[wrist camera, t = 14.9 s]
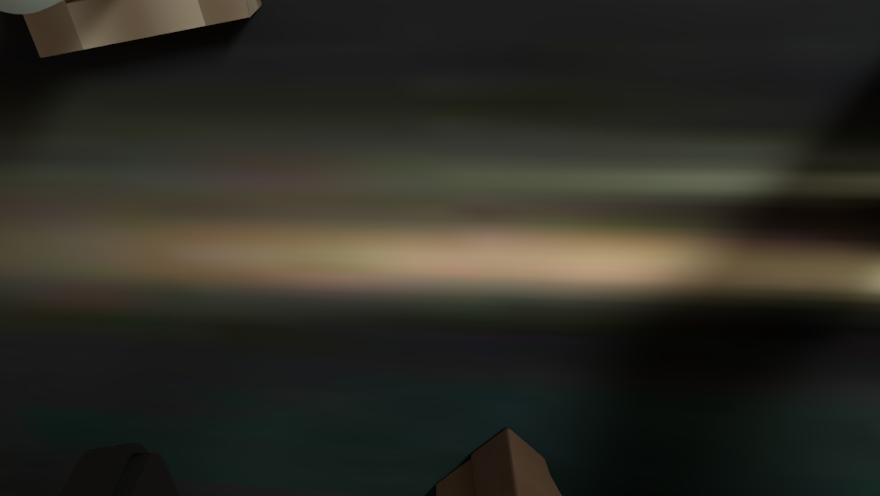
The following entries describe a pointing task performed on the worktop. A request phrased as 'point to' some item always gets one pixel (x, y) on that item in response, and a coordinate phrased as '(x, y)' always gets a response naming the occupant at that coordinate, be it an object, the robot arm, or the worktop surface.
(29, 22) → the tan rectangular frame
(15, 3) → the dowel
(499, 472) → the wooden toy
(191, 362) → the worktop surface
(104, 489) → the robot arm
